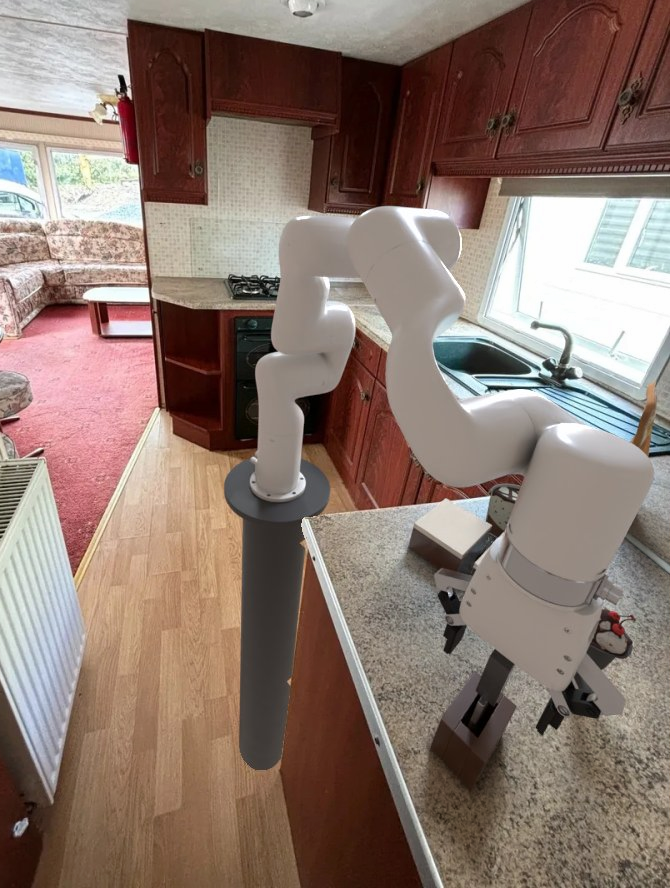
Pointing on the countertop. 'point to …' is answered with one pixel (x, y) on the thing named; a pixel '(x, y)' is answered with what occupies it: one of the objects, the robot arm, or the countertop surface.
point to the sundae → (607, 643)
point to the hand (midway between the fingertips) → (494, 680)
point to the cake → (449, 536)
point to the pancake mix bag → (646, 421)
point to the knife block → (470, 733)
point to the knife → (490, 686)
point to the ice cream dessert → (501, 507)
